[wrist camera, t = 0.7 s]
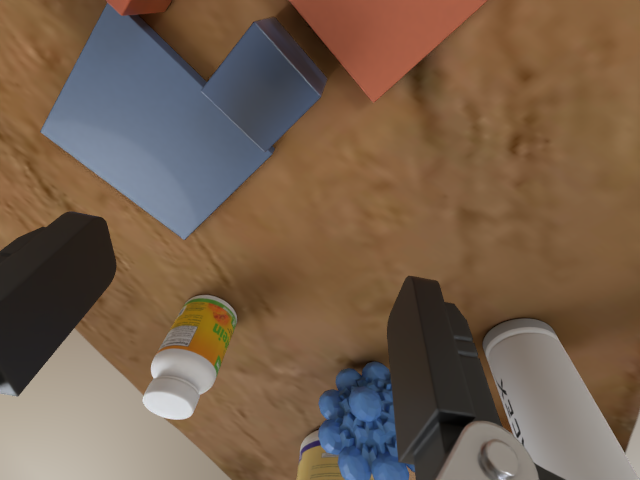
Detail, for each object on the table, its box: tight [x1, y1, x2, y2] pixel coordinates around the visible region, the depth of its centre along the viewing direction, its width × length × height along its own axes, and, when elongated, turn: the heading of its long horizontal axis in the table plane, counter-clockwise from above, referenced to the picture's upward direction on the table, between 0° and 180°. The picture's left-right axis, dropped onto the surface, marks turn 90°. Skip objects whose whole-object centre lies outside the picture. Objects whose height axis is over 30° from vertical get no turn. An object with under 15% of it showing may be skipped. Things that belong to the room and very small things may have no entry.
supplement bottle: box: [143, 295, 237, 420], centre depth 31 cm, size 5×5×10 cm
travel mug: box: [483, 318, 640, 480], centre depth 25 cm, size 6×7×20 cm
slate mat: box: [40, 3, 275, 240], centre depth 24 cm, size 12×11×1 cm
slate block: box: [201, 17, 327, 152], centre depth 20 cm, size 4×4×4 cm
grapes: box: [318, 361, 415, 480], centre depth 32 cm, size 12×7×12 cm, turn 113°
